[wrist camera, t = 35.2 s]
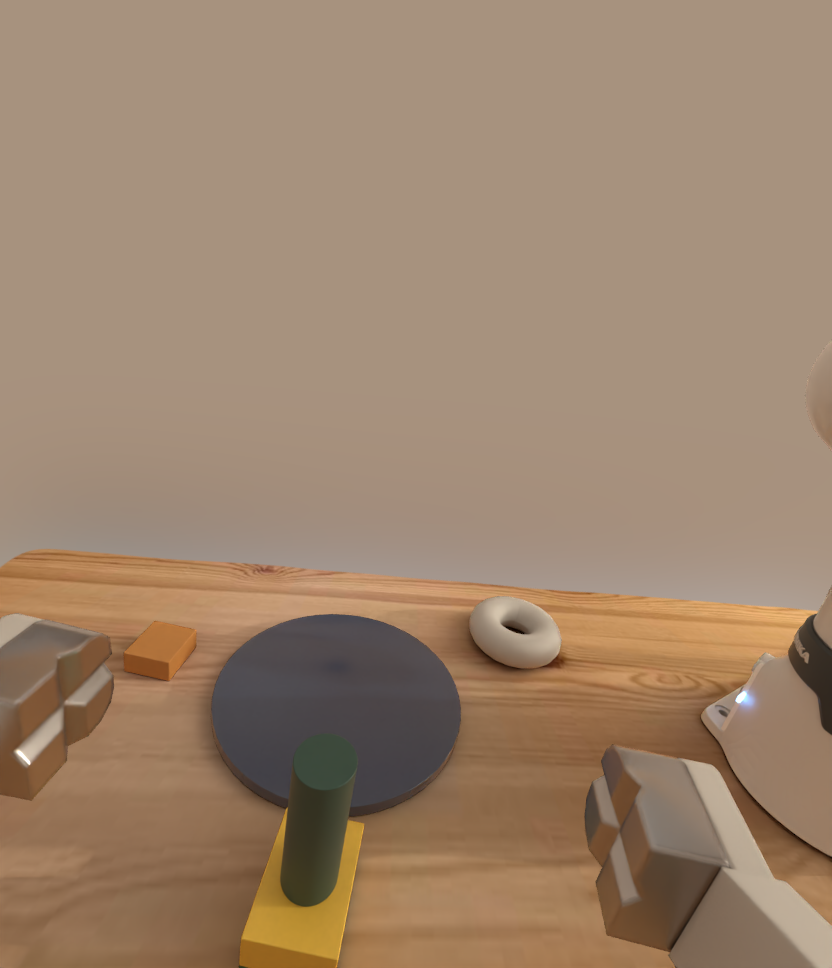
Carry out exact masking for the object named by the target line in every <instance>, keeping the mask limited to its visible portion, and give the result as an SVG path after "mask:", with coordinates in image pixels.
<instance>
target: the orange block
mask: <svg viewBox="0 0 832 968" xmlns="http://www.w3.org/2000/svg"><path fill="white" fill-rule="evenodd" d="M195 648H196V630H195V629H191V628H186V627H181V626H177V625H172V624H168V623H163V622H158V621H154V622H153V623H152V624H151V625H150V626H149V627H148V628H147V629H146V630H145V631H144V632H143V633H142V634H141V636H140V637H139V638H138V639H137V640H136V641H135V642H134V643H133V644H132V645H131V646H130V647H129V648H128V649H127V650H126V651H125V652H124V670H125V671H126V672H131V673H135V674H140V675H144V676H149V677H153V678H158V679H162V680H167V681H170V679H171V678H172V677H173V675H174V674H175V673H176V672H177V670H178V669H179V668H180V667H181V665H182V664H183V663H184V662H185V660H186V659H187V658H188V656H189V655H190V654H191V653H192V651H193V650H194V649H195Z"/></svg>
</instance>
